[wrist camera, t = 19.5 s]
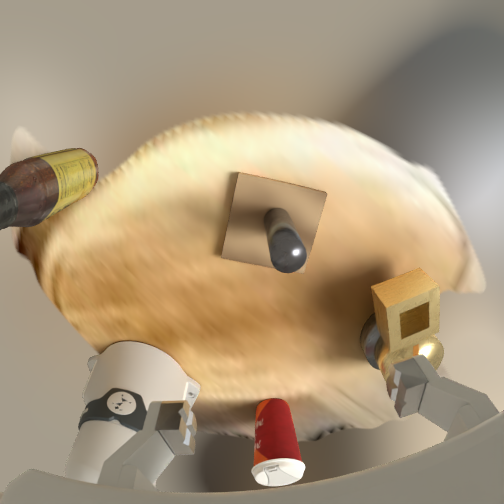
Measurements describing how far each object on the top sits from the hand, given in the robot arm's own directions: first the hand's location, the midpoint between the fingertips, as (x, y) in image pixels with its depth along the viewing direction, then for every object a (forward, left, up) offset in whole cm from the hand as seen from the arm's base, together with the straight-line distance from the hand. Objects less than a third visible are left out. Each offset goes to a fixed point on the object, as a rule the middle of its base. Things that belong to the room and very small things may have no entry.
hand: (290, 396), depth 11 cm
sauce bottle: (+1, +22, -27) cm, 35 cm away
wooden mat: (-1, -2, -26) cm, 26 cm away
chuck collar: (-10, -22, -23) cm, 33 cm away
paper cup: (-32, -10, -27) cm, 42 cm away
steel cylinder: (0, -2, -25) cm, 25 cm away
